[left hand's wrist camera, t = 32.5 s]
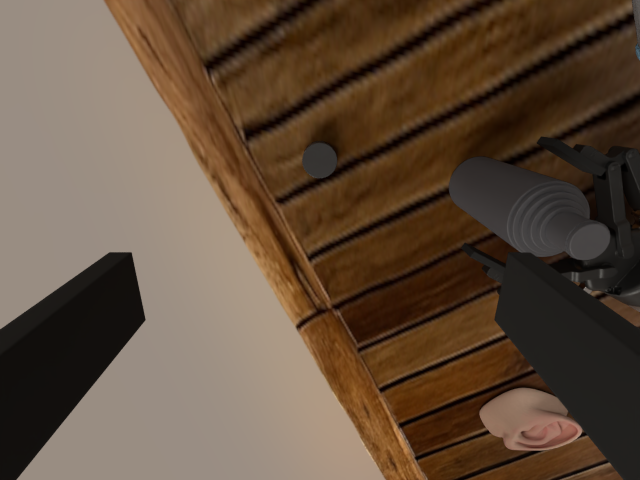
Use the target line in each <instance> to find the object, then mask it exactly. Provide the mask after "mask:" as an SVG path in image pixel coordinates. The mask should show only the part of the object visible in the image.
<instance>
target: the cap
mask: <svg viewBox="0 0 640 480" xmlns="http://www.w3.org/2000/svg"><path fill="white" fill-rule="evenodd" d="M302 162H303V167H304V169H305V171H306V172H307V173H308V174H309V175H311V176H313V177H315V178H324V177H327V176H329V175H330V174H331V173H332V172H333V171H334V170H335V168H336V165H337V156H336V153H335V150H334V149H333V147H332V146H331V145H330V144H328V143H326V142H323V141H316V142H313V143H311V144H310V145H309V146H308V147H307V148H306V149H305V152H304V154H303V159H302Z"/></svg>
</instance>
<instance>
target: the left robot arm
mask: <svg viewBox="0 0 640 480" xmlns="http://www.w3.org/2000/svg"><path fill="white" fill-rule="evenodd" d="M632 5H633V12H634V19H635V26H636V34H637V41H638V43H637V45H636V55H637V57H638V59H639V60H640V0H632ZM144 321H145V315H144V310H143V305H142V300H141V296H140V291H139V286H138V281H137V276H136V272H135V267H134V262H133V257H132V253H131V252H110V253H108V254H107V255H105V256H104V257H102V258H101V259H100V260H98V261H97V262H95V263H94V264H92V265H91V266H90V267H88V268H87V269H85V270H84V271H83V272H81V273H80V274H78V275H77V276H75V277H74V278H73V279H71V280H70V281H68V282H67V283H66V284H64V285H63V286H61V287H60V288H58V289H57V290H56V291H54V292H53V293H51V294H50V295H48V296H47V297H46V298H44V299H43V300H41V301H40V302H39V303H37V304H36V305H34V306H33V307H31V308H30V309H29V310H27V311H26V312H24V313H23V314H22V315H20V316H19V317H17V318H16V319H15V320H13V321H12V322H10V323H9V324H7V325H6V326H5V327H3V328H2V329H0V480H16V479H17V478H18V477H19V476H20V475H21V473H22V472H23V471H24V470H25V468H26V467H27V466H28V465H29V463H30V462H31V461H32V460H33V458H34V457H35V456H36V455H37V453H38V452H39V451H40V450H41V449H42V447H43V446H44V445H45V444H46V442H47V441H48V440H49V439H50V437H51V436H52V435H53V434H54V433H55V431H56V430H57V429H58V428H59V426H60V425H61V424H62V423H63V421H64V420H65V419H66V418H67V416H68V415H69V414H70V413H71V412H72V410H73V409H74V408H75V407H76V405H77V404H78V403H79V402H80V400H81V399H82V398H83V397H84V395H85V394H86V393H87V392H88V390H89V389H90V388H91V387H92V386H93V384H94V383H95V382H96V381H97V379H98V378H99V377H100V376H101V374H102V373H103V372H104V371H105V369H106V368H107V367H108V366H109V364H110V363H111V362H112V361H113V360H114V358H115V357H116V356H117V355H118V353H119V352H120V351H121V350H122V348H123V347H124V346H125V345H126V343H127V342H128V341H129V340H130V339H131V337H132V336H133V335H134V334H135V332H136V331H137V330H138V329H139V327H140V326H141V325H142V324H143V322H144ZM495 321H496V322H497V324H498V325H499V326H500V327H501V329H502V330H503V331H504V332H505V334H506V335H507V336H508V337H509V339H510V340H511V341H512V342H513V343H514V345H515V346H516V347H517V348H518V350H519V351H520V352H521V353H522V355H523V356H524V357H525V358H526V360H527V361H528V362H529V363H530V365H531V366H532V367H533V368H534V369H535V371H536V372H537V373H538V374H539V376H540V377H541V378H542V379H543V381H544V382H545V383H546V384H547V386H548V387H549V388H550V389H551V390H552V392H553V393H554V394H555V395H556V397H557V398H558V399H559V400H560V402H561V403H562V404H563V405H564V407H565V408H566V409H567V410H568V412H569V413H570V414H571V415H572V416H573V418H574V419H575V420H576V421H577V423H578V424H579V425H580V426H581V428H582V429H583V430H584V431H585V433H586V434H587V435H588V436H589V437H590V439H591V440H592V441H593V442H594V444H595V445H596V446H597V447H598V449H599V450H600V451H601V452H602V454H603V455H604V456H605V457H606V459H607V460H608V461H609V462H610V463H611V465H612V466H613V467H614V468H615V470H616V471H617V472H618V473H619V475H620V476H621V477H622V478H623V480H640V328H638V327H636V326H634V325H633V324H631V323H630V322H628V321H627V320H626V319H624V318H623V317H621V316H620V315H619V314H617V313H616V312H614V311H613V310H611V309H610V308H609V307H607V306H606V305H604V304H603V303H601V302H600V301H599V300H597V299H596V298H594V297H593V296H592V295H590V294H589V293H587V292H586V291H584V290H583V289H582V288H580V287H579V286H577V285H576V284H575V283H573V282H572V281H570V280H569V279H567V278H566V277H565V276H563V275H562V274H560V273H559V272H557V271H556V270H555V269H553V268H552V267H550V266H549V265H548V264H546V263H545V262H543V261H542V260H540V259H539V258H538V257H536V256H535V255H533V254H532V253H531V252H508V257H507V262H506V267H505V272H504V276H503V281H502V286H501V291H500V296H499V300H498V305H497V310H496V315H495Z"/></svg>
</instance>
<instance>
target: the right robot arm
mask: <svg viewBox="0 0 640 480" xmlns="http://www.w3.org/2000/svg"><path fill="white" fill-rule="evenodd" d="M537 144H539V145H540V146H542V147H544V148H545V149H547V150H549V151H550V152H552V153H554V154H555V155H557V156H559V157H560V158H562V159H563V160H565V161H567V162H568V163H570V164H572V165H573V166H575V167H577V168H578V169H580V170H582V171H583V172H587V173H591V174H593V181H594V189H595V197H596V204H597V212H598V216H597V217H596V218H595V220H596V221H597V222H600V223H602V224H604V225H606V226H607V227H608V229H609V231H610V242H609V245H608V247H607V248H606V249H605V251H604V252H603V253H602V254H600V255H599V256H597V257H595V258H593V259H589V260H578V259H575V258H569V259H564V260H560V261H559V263H555V264H550V265H549V266H550V267H552V268H553V269H555V270H556V271H557V272H559V273H560V274H562V275H563V276H565V277H566V278H567V279H569V280H570V281H575V282H580V285H579V287H580V288H582V289H583V290H584V291H586V292H587V293H589V294H590V293H591V292H592V291H602V292H604V293H606V294H608V295H610V296H611V297H613V298H615V299H617V300H619V301H621V302H622V303H624V304H627V305H629V306H630V307H632V308H633V309H635V310H637V311H639V312H640V154H639V152H638V150H637V149H634V148H627V147H620V146H613V147H611V148H610V149H609V151H608V153H607V154H606V155H604V154H602V153H601V152H599V151H597V150H596V149H594V148H593V147H591V146H586V145H579V144H576V145H575V146H574V148H571V147H569V146H568V145H566V144H564V143H563V142H561V141H560V140H558V139H554V138H547V137H541V138H540V139H539V140H538V142H537ZM623 191H624V193H625V196H626V198H627V200H628V203H629V205H630V206H631V207H632V208H633V209H634V210H633V211H632V212H631V214H632V215H634V218H635V223H634V224H633V225H630V223H629V221H628V220H627V219H626V214H625V204H624V195H623ZM461 248H462V249H463V250H464V251H465V252H466V253H467V254H468V255H469V256H470V257H471V258H473V259H475V260H477V261H479V262H481V263H483V264H485V265H484V266H483V267H482V270H483V271H484V272H485V273H486V274H487V275H488V276H489V277H490V278H492V279H494V280H496V281H498V282H500V283H502V281H503V276H504V272H505V267H506V264H505V263H503V262H501V261H499V260H497V259H495V258H493V257H491V256H489V255H487V254H486V253H484V252H482V251H480V250H478V249H476V248H474V247H472V246H470V245H468V244H467V243H464V245H463V246H462V247H461ZM500 291H501V287H500V288H499V289H498V290H497V293H498V294H499V295H500Z"/></svg>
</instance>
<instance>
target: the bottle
mask: <svg viewBox="0 0 640 480" xmlns="http://www.w3.org/2000/svg"><path fill="white" fill-rule="evenodd" d="M449 192H450V196H451V198H452V200H453V202H454V203H455V204H456V205H457V206H459V207H460V208H461V209H463V210H464V211H465V212H467V213H468V214H469V215H471V216H472V217H474V218H475V219H476V220H478V221H479V222H480V223H482V224H483V225H484V226H486V227H487V228H488V229H490V230H491V231H492V232H494V233H495V234H497V235H498V236H499V237H501V238H502V239H503V240H505V241H506V242H507V243H509V244H510V245H511V246H513V247H514V248H515V249H517V250H518V251H520V252H531V253H532V254H533V255H535V256H538V257H546V256H552V255H556V254H559V253H561V252H563V251H565V252H567V253H568V254H569V255H570V256H571V257H573V258H575V259H578V260H589V259H593V258H595V257H597V256H599V255H600V254H602V253H603V252H604V251H605V249H606V248H607V247H608V245H609V242H610V231H609V229H608V227H607V226H606V225H604V224H602V223H600V222H597V221H594V220H590V219H589V218H590V208H589V204H588V202H587V199H586V198H585V196H584V195H583V193H582V192H581V191H580V190H579V189H578V188H577V187H576V186H574V185H572V184H570V183H567V182H564V181H561V180H558V179H555V178H551V177H548V176H545V175H542V174H539V173H536V172H532V171H529V170H526V169H523V168H520V167H517V166H514V165H510V164H507V163H504V162H501V161H498V160H495V159H491V158H488V157H481V156H480V157H473V158H470V159H468V160H466V161H464V162H463V163H462V164H460V165H459V166H458V167H457V168H456V170H455V171H454V173H453V174H452V177H451V179H450V183H449Z"/></svg>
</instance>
